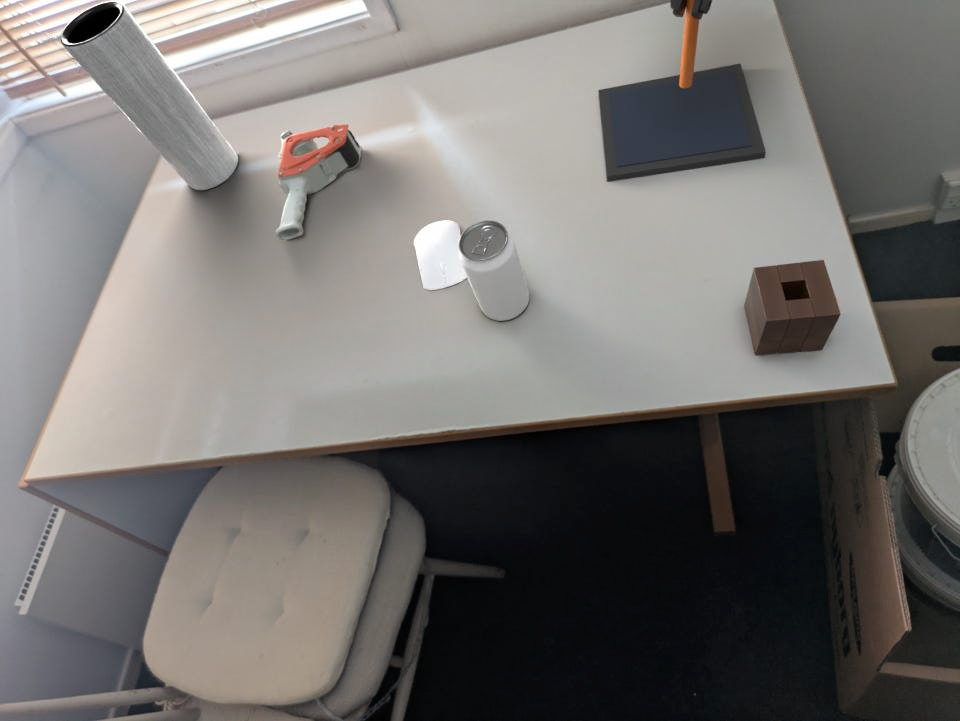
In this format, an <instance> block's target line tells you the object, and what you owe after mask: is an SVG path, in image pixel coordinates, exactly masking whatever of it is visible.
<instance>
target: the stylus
mask: <svg viewBox="0 0 960 721" xmlns="http://www.w3.org/2000/svg"><path fill="white" fill-rule="evenodd" d="M694 2H695V0H687V4H686V9H685V14H684V16H685V17H684V18H685V19H684V25H683V26H684V27H683V37H682V38H683V39H682V48H681V60H680V71H679V75H680V80H679V86H680V87H681V88H689V87H691V86H692V81H693V72H695V64H696V53H697V44H698V38H699V37H698V34H699V26H700V19H694V18H693V17H692V16H691V13H692V9H693V5H694Z"/></svg>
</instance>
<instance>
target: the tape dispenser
mask: <svg viewBox="0 0 960 721" xmlns="http://www.w3.org/2000/svg"><path fill="white" fill-rule="evenodd" d="M316 138H317V139H319V138H327V139H328V140H329V141H328V143H327V144H325V145H324V146H321V147H319V145H318V144H317V143H316V142H315V140H314V139H316ZM280 140H281V148H280V151H279V153H278V158H279V159H280V164H279V169H278V172H277V178H278V187H279V188H280V189H281V190H282V191H283V193H285V194H288V195H287V197H286V200H285V203H284V207H283V210H282V214H281V218H280V225H279V226H278V228H277V229H276V230H275V234H274V235H275V236H276V238H277V239H279V240H281V241H290V240H293V239H295V238H298V237H300V236H302V235H303V234H304V228H303V222H304V220H305V211H306V203H307V201H308V199H307V195H309V194H315V193H318V192H319V191H321V190H322V189H323V188H324V187H326V186H327V185H329V184H331V183H332V182H333V181H335V180H336V179H337V177H338V174H339V173H341V172H342V171H343V170H345V169H346V170H353V169H355V168H357V167H358V166H359V164H360V160H361V156H362V151H363V147H362V146H361V145H360V144H359V142H358V141H357V139H356V137H355V136H354V134H353V133H352V131H351V130H350V129H349V124H332V125H331V126H327V127H323V128H318V129H313V130H309V131H302V132H297V133H295V132H294V131H292V130H290V129H289V130H286V131H284V132H282V134H281V135H280Z"/></svg>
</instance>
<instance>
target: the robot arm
mask: <svg viewBox="0 0 960 721" xmlns="http://www.w3.org/2000/svg"><path fill="white" fill-rule="evenodd" d="M712 3H713V0H695V2H694V5H693V9H692V13H691V16H692V17H693V18H694V19H699V20H702V18H703V15H707V14H708V13H709V11H710V10H711V7H712ZM686 4H687V0H670V1H669V5H670V8H671V9H672V15H673V16H675V17H676V18H683V17H684V16H685V13H686Z"/></svg>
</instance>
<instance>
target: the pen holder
mask: <svg viewBox="0 0 960 721" xmlns="http://www.w3.org/2000/svg"><path fill="white" fill-rule="evenodd" d="M743 308H744V311H745V315H746V320H747V325H748V329H749V333H750V340H751V343H752V347H753V352H754V356H766V355H776V354H789V353H790V354H791V353H792V354H793V353H802V352H804V353H805V352H817V351H823V349H824V348H825V346H826V344H827V342H828V340H829V338H830V336H831V334H832V333H833V331H834V328H835V326H836V324H837V322H838V320H839V318H841V310H840V307H839V303H838V300H837V298H836V295H835V291H834V288H833V284H832V282H831V279H830V276H829V272H828V269H827V266H826V262H825V260H824V259H818V260H809V261H800V262H793V263H784V264H776V265H766V266H757V267H753V269H752V272H751V277H750V281H749V285H748V288H747V292H746V297H745V301H744V305H743Z"/></svg>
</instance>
